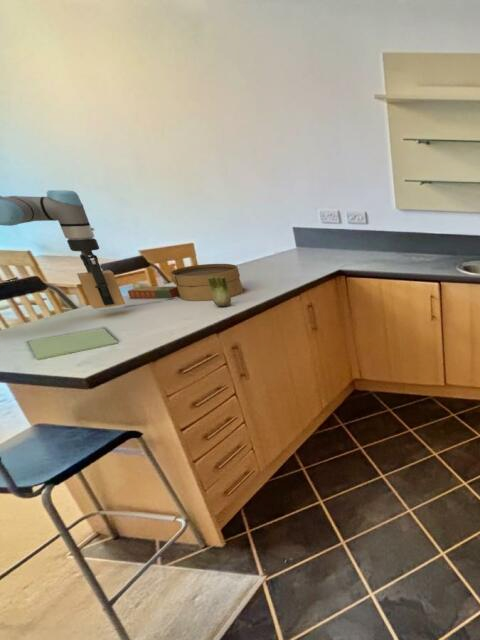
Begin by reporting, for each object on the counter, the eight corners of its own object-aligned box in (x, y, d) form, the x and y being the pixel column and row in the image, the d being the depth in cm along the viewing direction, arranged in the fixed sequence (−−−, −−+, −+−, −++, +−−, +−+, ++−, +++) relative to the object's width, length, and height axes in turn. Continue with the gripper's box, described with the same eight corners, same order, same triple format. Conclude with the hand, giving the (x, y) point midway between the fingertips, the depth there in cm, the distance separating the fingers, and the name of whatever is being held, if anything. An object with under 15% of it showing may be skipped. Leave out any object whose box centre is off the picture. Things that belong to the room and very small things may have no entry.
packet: (90, 305, 155) (76, 273, 150) (121, 301, 162) (109, 270, 156) (94, 308, 152) (79, 275, 147) (125, 304, 158) (113, 272, 153)
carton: (143, 295, 184) (139, 286, 182) (182, 295, 186) (179, 285, 184) (130, 300, 176) (126, 290, 175) (171, 299, 179) (168, 289, 177)
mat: (29, 343, 131) (28, 341, 131) (104, 329, 144) (103, 328, 144) (37, 360, 120) (36, 358, 120) (118, 343, 133) (117, 341, 132)
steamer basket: (174, 304, 173) (165, 276, 168) (183, 290, 193) (174, 265, 187) (243, 297, 184) (236, 271, 179) (244, 285, 203) (238, 262, 198)
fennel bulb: (234, 305, 173) (226, 276, 168) (226, 308, 169) (217, 278, 164) (221, 304, 174) (213, 275, 169) (212, 307, 170) (203, 278, 164)
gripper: (101, 240, 143) (126, 305, 154) (89, 235, 154) (114, 296, 164) (71, 242, 138) (99, 309, 148) (61, 236, 149) (88, 299, 159)
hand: (107, 302), depth 156 cm, fingers closed on packet, 6 cm apart
